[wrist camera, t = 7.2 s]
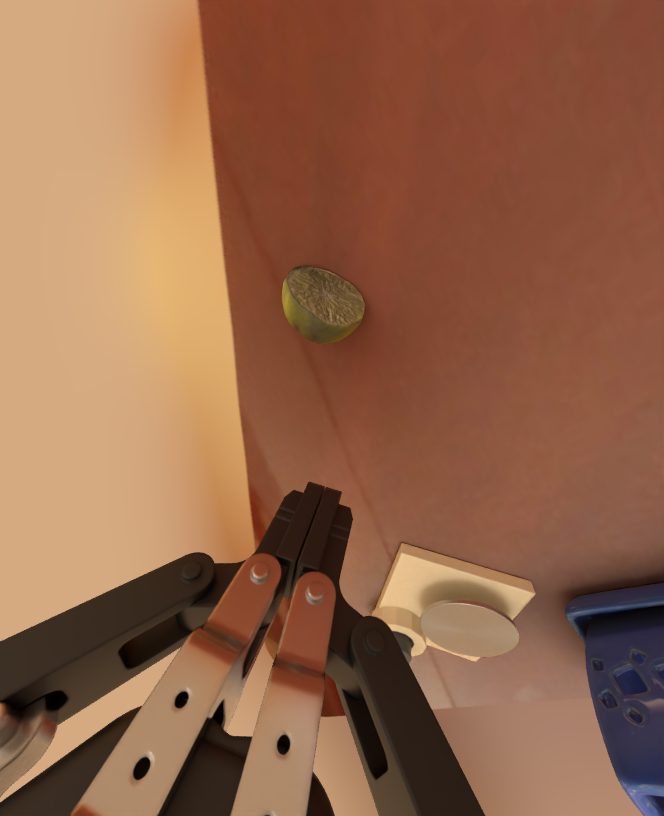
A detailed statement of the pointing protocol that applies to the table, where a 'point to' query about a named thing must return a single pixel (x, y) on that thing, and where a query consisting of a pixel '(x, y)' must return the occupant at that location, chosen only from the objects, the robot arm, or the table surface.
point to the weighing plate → (469, 628)
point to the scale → (442, 591)
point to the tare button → (404, 644)
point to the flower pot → (627, 683)
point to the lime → (321, 304)
